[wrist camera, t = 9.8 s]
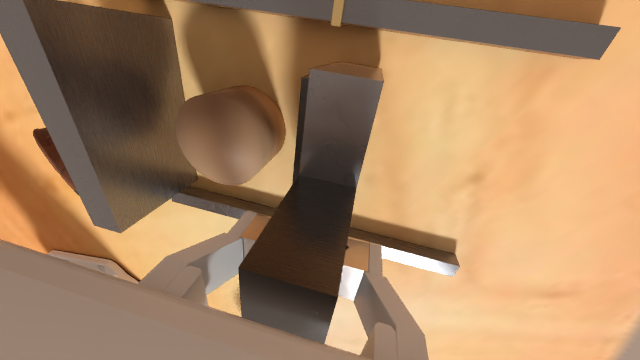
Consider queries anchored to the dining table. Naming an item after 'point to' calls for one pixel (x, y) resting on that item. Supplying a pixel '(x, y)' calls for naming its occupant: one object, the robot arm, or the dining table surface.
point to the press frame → (167, 93)
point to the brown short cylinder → (230, 133)
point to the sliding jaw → (313, 205)
